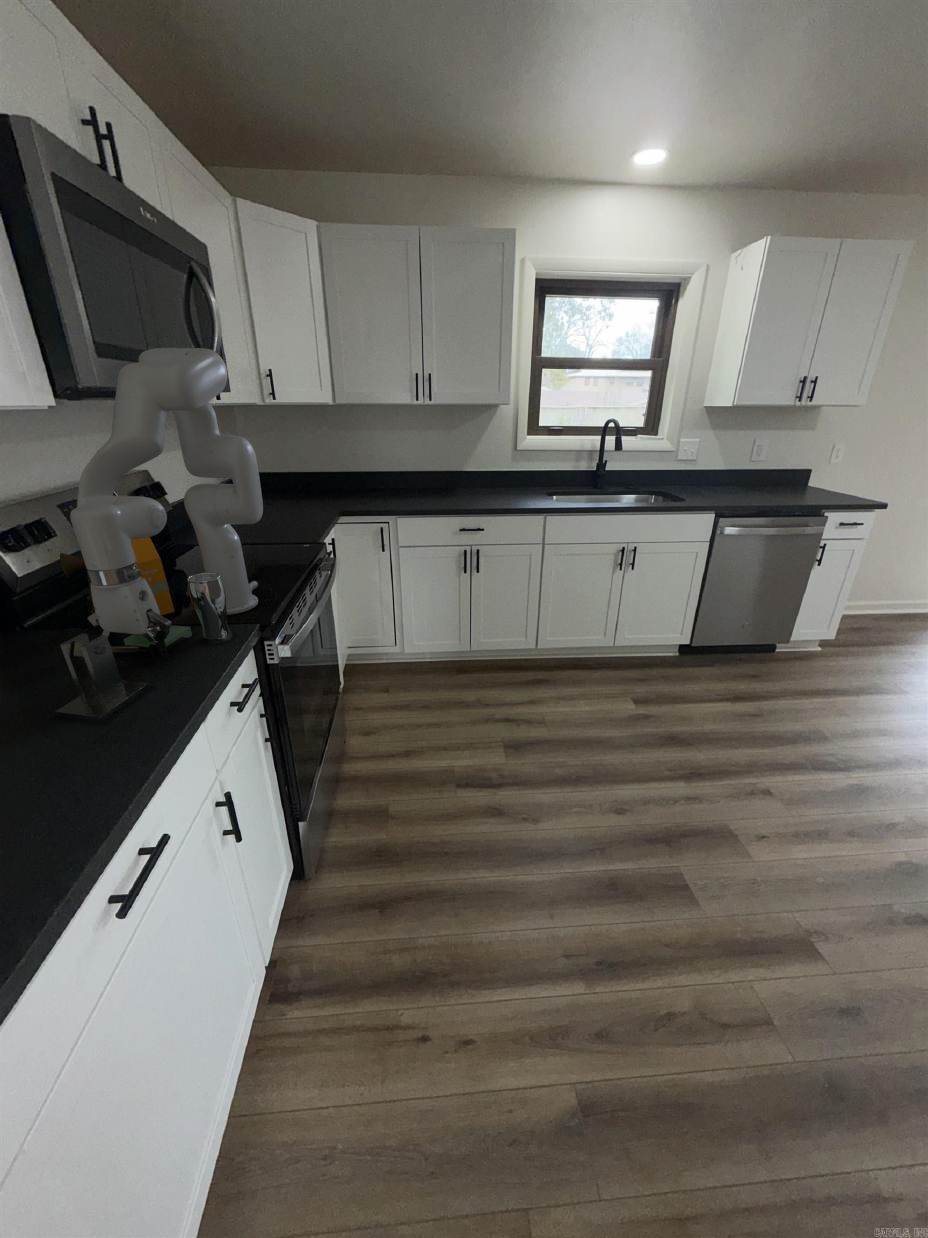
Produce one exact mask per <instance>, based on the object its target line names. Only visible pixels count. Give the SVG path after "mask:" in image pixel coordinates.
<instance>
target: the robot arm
mask: <svg viewBox="0 0 928 1238" xmlns="http://www.w3.org/2000/svg"><path fill="white" fill-rule="evenodd" d="M227 382H228V369H227V366H226V363H225V361H224V359H223V358H222V356H220V354H219V353H218V352H216V351H214V350H213V349H210V348H204V347H158V348H151V349H147V350H144V351H142V352H141V353H140V354H139V356H138V362H132V363H128V364H125V365H123V366H122V367H121V368H120V370H119V372H118V375H117V382H116V387H115V388H116V389H115V398H114V406H113V407H114V408H113V415H112V425H111V432H110V433H111V434H110V437H109V438H108V440H106V442H105V443H103V445H102V446H101V447H100V448H98V450H97V451H96V452H95V453H94V455H93V456H92V457H91V459H90V460H89V461H88V463H86V466H85V467H84V469H83V470H82V471H81V475H80V477H79V481H78V488H77V489H78V490H77V499H76V507H75V508H73V509H72V510H71V511H70V514H69V519H70V521H71V526H72V528H73V531H74V534H75V538H76V540H77V543H78V547H79V546H80V547H79V550H80V553H82V554H81V557H82V556H83V559H84V562H85V565H86V568H87V571H88V574H89V577H90V580H91V593H92V599H93V604H94V608H95V613H93V614H90V615H89V616H87V620H88V621H89V623H91V625H92V626H93V627H94V630H95V631H96V632H97V633H98V634H100V636H102V635H105V636H107V638H108V641H109V644H110V647H125V643H124V637H123V634H128V635H129V634H130V635H133V634H143V635H144V636H145V637H146V638H147V639H148V640H149V641H150V642H151V643H152V644H150V645H149V648H150V651H151V654H150V655H151V659H152V661H153V663H154V664H160V662H162V661H163V660H165V659H166V658H168V657H169V653H168V648H167V646H166V645H165V641H164V639H166V637H167V635H168V634H169V632H170V631H169V630H170V627H171V625H172V621H171V620H169V619H168V618H166V617H164V616H163V615H162V616H161V615H160V612H159V609H158V606H157V603H156V600H155V598H154V596H153V593H152V591H151V589H150V587H149V585H148V583H147V582H146V580H145V579H144V578H141V575H142V571H141V570H139V569H138V565H137V562H136V558H135V555H134V551H133V548H132V544H131V541H132V540H134V539H140V538H146V537H150V538H151V537H153V536H156V535H158V534H159V533H161V532H162V530H164V529H165V527H166V524H167V520H168V514H167V512H166V509H165V507H164V506H163V505H162V504H161V503H160V502H159V501H157V500H156V499H154V498H151V497H147V496H140V495H139V496H138V495H137V496H135V495H134V496H133V495H114V493H115V489H116V486H117V485H118V483H119V482H120V481H121V479H122V478H123V477H124V476H125V475H126V474H128V473H129V472H130V471H132V470H134V469H136V468H138V467H140V466H142V465H144V464H146V463H148V462H150V461H151V460H154V459H156V458H157V457H159V456H160V455H161V454H162V453H163V452H164V449H165V441H166V440H165V439H166V429H167V421H168V413H169V412H172V414H173V416H174V420H175V424H176V429H177V435H178V439H179V444H180V449H181V455H182V459H183V463H184V467H185V469H186V470H187V473H189V474H190V475H191V476H193V477H197V478H205V479H208V478H209V479H210V478H211V479H231V480H232V483H198V484H195V485H192V486H190V487H189V488H188V489H187V490H186V492H185V493H184V496H183V503H184V509H185V511H186V514H187V517H188V518H189V520H190V522H191V525H192V527H193V530H194V533H195V536H196V540H197V544H198V548H199V553H200V557H201V562H202V565H203V569H204V573H205V572H216V573H219V574H220V575H221V579H222V582H223V586H224V589H225V594H226V602H227V616H231V615H237V614H241V613H245V612H248V611H250V610H252V609H254V608H255V607H256V606H258V604H259V598H258V596H256V595H254V594H253V590H255V589H256V588H258V587H259V583H258V581H256V580H253V581H251V582H249V579H248V574H247V569H246V564H245V558H244V553H243V548H242V547H243V546H242V543H241V539H240V537H239V535H238V533H237V531H236V530H235V529H234V527H233V526H232V525H255V524H256V523H258V522H259V521H260V520H261V519H262V517H263V513H264V501H263V495H262V493H263V492H262V486H261V480H260V473H259V465H258V459H257V456H256V455H257V454H256V452H255V449H254V447H253V446H252V444H251V443H250V441H249V440H247V439H246V438H245V437H243V436H240V435H231V434H230V435H226V434H225V435H223V434H221V433H220V429H219V425H218V420H217V419H218V418H217V415H216V411H215V409H214V408H213V406H212V404H211V403H210V401H212V400H213V399H214V398H215V397H217V396H218V395H220V394H221V393H222V392H223V391H224V390H225V388H226V385H227V384H228V383H227ZM86 568H85V569H86ZM148 626H149V628H148V629H147V627H148ZM158 626H160V628H159V627H158ZM152 630H153V632H154V633H155V634H156V635H155V637H154V636H153V635H152V634H151V633H150V632H151V631H152ZM112 653H113V656H114V659H115V660H116V659H118V658H119V657H121V656H123V655H125V654H126V653H127V652H112Z"/></svg>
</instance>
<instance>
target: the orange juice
mask: <svg viewBox="0 0 928 1238" xmlns="http://www.w3.org/2000/svg"><path fill="white" fill-rule="evenodd" d="M131 544H132V548H133V551H134V555H135V558H136V562H137V565H138V569H139V570H141V571H142V575H141V578H144V579H145V580H146V582H147V583H148V585H149V587H150V589H151V591H152V593H153V596H154V598H155V600H156V603H157V606H158V609H159V612H160V615H161V616H162V617H163V616H165V615H169V614H172V613H175V607H174V604H173V600H172V596H171V592H170V588H169V584H168V580H167V578H166V573H165V570H164V567H163V563H162V559H161V557H160V555H159V553H158V551H157V549H156V547H155V545H154V543H153V541H152V538H151V537H146V538H140V539H134V540H132V541H131Z"/></svg>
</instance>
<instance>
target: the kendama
mask: <svg viewBox="0 0 928 1238" xmlns="http://www.w3.org/2000/svg"><path fill="white" fill-rule="evenodd" d="M78 547H79V548H80V546H79V545H78ZM80 553H81V552H80ZM80 555H81V556H74V555H71V554H68V553H65V552H60V554H59V560H60V564H61V568H62V570H63V573H64V575H65V576H66V577H67V578H72V577H73V576H74V575H75V574H76V573H78V572H80V571H81V570H84V569H85V571H86V572H85V573H86V577H87V582H88V589H89V593H88V595H87V597H86V599H87V600H88V601H89V602H90V603H91V610H90V615H92V614H93V613H95V608H94V604H93V599H92V593H91V580H90V577H89V574H88V571H87V568H86V565H85V562H84V559H83V556H82V553H81V554H80Z"/></svg>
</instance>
